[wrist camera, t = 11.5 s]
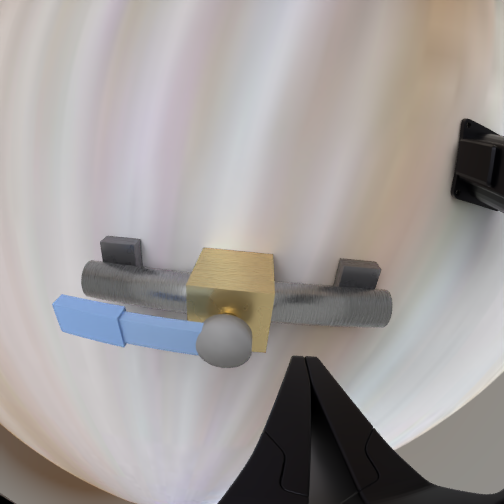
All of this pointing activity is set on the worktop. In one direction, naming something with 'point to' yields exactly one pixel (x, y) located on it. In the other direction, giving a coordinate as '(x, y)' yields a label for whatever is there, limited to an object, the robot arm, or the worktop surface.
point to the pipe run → (238, 289)
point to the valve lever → (157, 331)
